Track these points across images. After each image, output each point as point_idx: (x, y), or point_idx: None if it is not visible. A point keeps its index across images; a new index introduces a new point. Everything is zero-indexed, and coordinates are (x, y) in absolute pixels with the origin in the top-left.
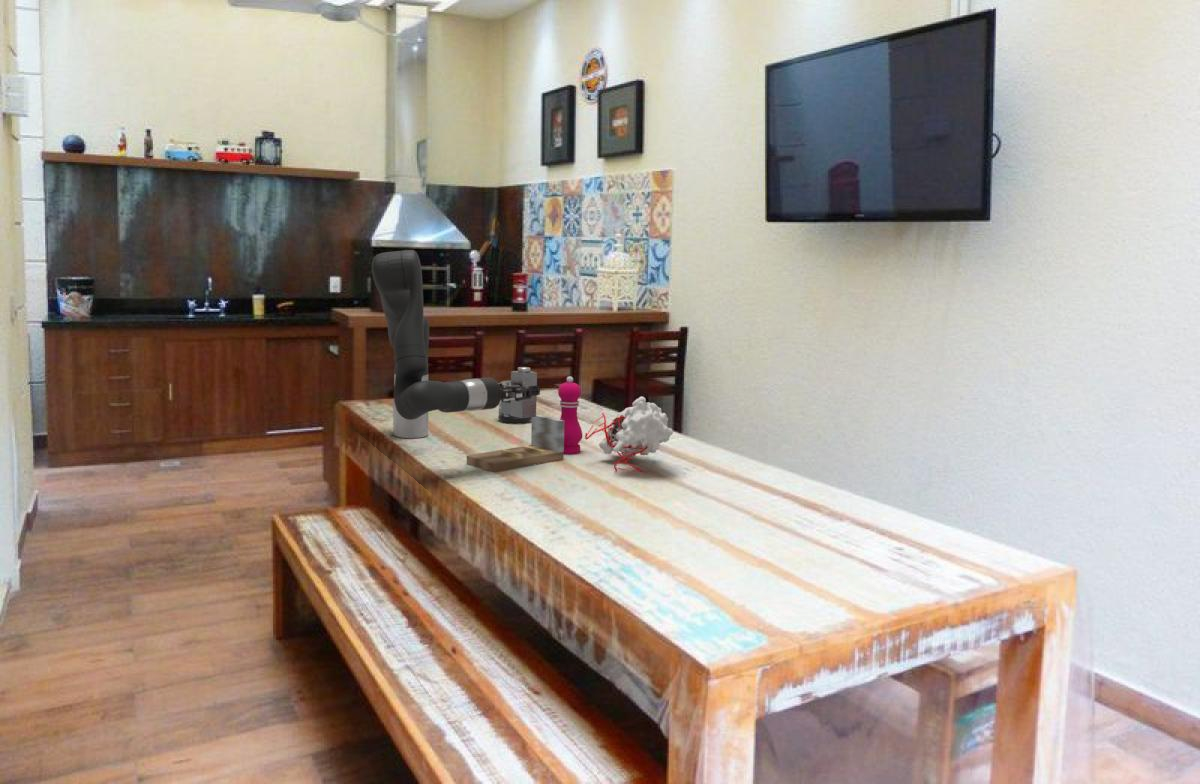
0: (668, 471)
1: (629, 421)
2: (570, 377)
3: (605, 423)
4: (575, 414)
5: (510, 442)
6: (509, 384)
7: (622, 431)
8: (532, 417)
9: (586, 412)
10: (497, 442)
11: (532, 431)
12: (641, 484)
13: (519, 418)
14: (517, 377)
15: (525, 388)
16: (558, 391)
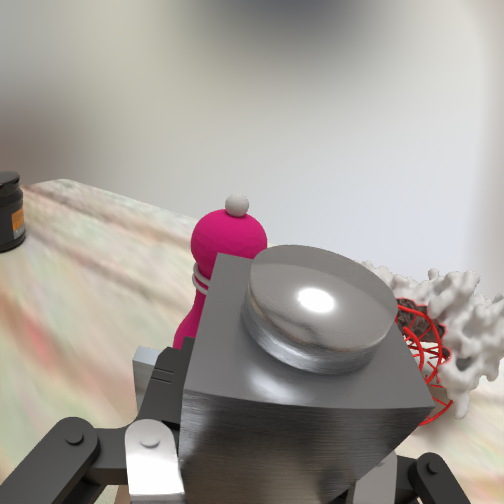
0: (424, 368)
1: (485, 346)
2: (245, 199)
3: (423, 358)
4: None
5: (37, 361)
6: (162, 471)
7: (455, 364)
8: (137, 367)
9: (78, 194)
10: (12, 372)
11: (140, 397)
12: (480, 440)
13: (9, 241)
14: (318, 443)
15: (442, 497)
16: (207, 253)
